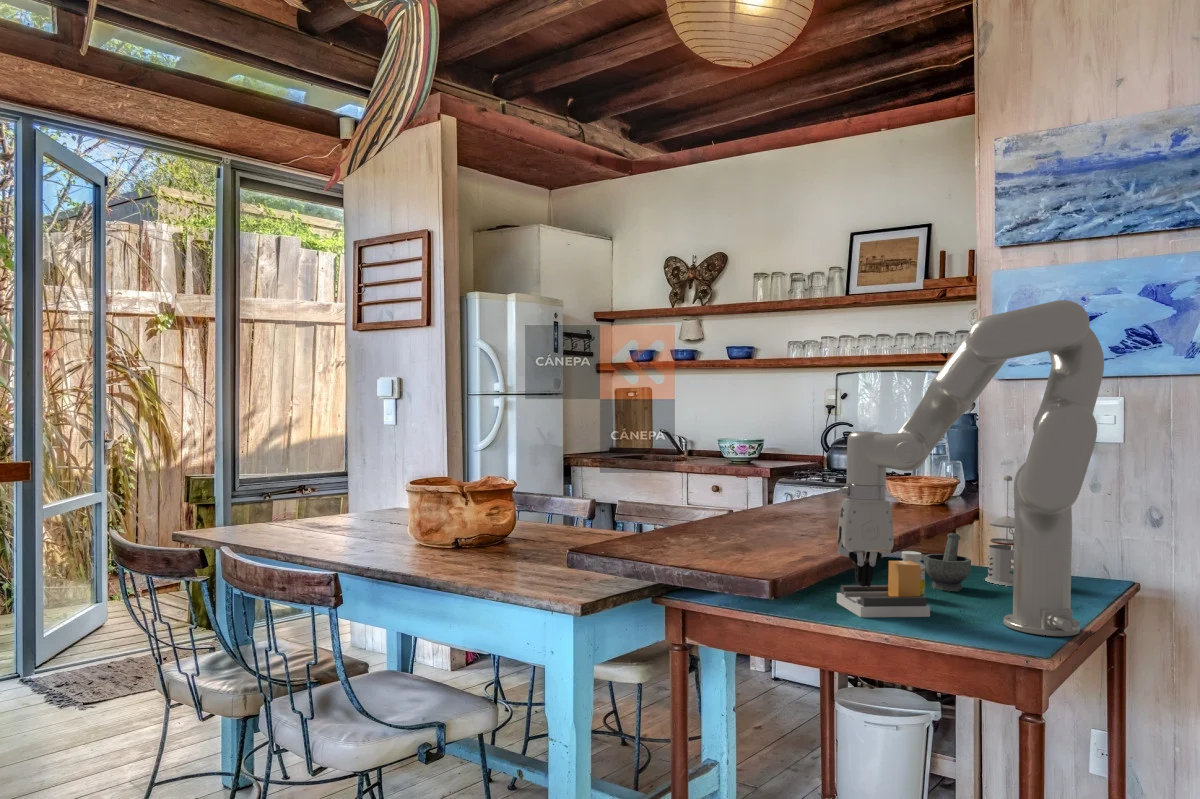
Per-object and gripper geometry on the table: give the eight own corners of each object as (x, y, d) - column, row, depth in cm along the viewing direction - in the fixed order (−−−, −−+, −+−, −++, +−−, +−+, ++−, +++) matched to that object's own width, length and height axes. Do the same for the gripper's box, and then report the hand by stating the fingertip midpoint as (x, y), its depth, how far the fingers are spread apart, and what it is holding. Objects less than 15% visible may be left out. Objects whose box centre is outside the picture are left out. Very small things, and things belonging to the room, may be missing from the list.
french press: (976, 581, 200) (978, 474, 200) (995, 575, 208) (997, 472, 208) (1020, 589, 193) (1022, 478, 193) (1038, 582, 201) (1040, 475, 201)
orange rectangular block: (919, 600, 170) (920, 564, 170) (898, 600, 170) (898, 564, 170) (909, 595, 174) (909, 560, 174) (888, 595, 174) (888, 560, 174)
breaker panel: (929, 616, 166) (930, 598, 166) (860, 617, 165) (860, 598, 165) (901, 602, 178) (902, 584, 178) (836, 602, 177) (837, 585, 177)
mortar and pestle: (962, 595, 186) (963, 540, 186) (918, 589, 191) (919, 535, 191) (976, 586, 195) (976, 534, 195) (933, 581, 200) (934, 529, 200)
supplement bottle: (930, 599, 181) (930, 554, 181) (908, 601, 179) (909, 555, 179) (913, 594, 186) (914, 549, 186) (892, 595, 184) (893, 550, 184)
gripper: (836, 495, 167) (834, 589, 167) (910, 496, 168) (907, 589, 168) (822, 490, 174) (820, 581, 174) (893, 491, 176) (891, 581, 176)
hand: (863, 584), depth 171 cm, fingers closed
